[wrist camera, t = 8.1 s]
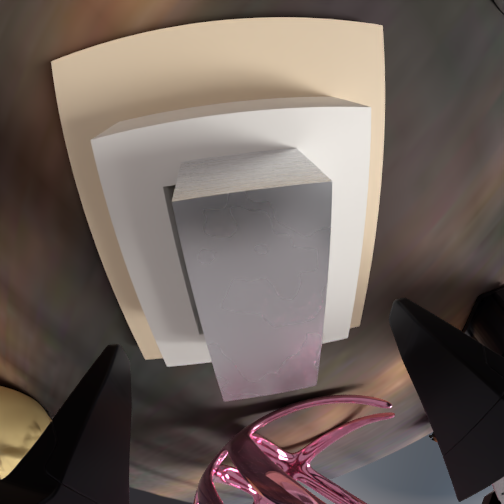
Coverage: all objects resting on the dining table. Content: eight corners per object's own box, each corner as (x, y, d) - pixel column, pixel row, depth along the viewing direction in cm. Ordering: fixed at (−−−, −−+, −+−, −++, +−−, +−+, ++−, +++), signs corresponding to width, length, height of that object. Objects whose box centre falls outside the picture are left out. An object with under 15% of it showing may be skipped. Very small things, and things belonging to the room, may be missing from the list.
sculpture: (66, 435, 30) (57, 506, 21) (-11, 404, 26) (-29, 470, 17) (64, 397, 25) (47, 490, 16) (-30, 357, 21) (-61, 438, 12)
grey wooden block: (281, 281, 19) (316, 385, 13) (214, 291, 19) (224, 401, 12) (273, 128, 14) (332, 181, 8) (187, 138, 14) (171, 201, 7)
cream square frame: (353, 315, 23) (380, 366, 19) (146, 347, 22) (140, 405, 18) (371, 27, 12) (430, 19, 8) (60, 61, 11) (6, 63, 7)
